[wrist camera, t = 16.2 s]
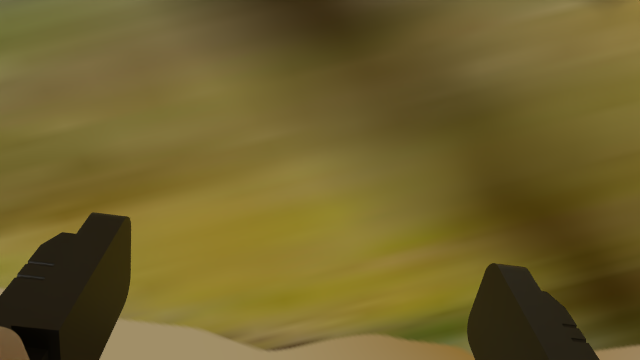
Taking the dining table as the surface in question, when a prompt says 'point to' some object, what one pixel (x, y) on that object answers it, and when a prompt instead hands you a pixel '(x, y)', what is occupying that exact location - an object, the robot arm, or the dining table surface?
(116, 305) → the robot arm
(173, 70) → the dining table surface
